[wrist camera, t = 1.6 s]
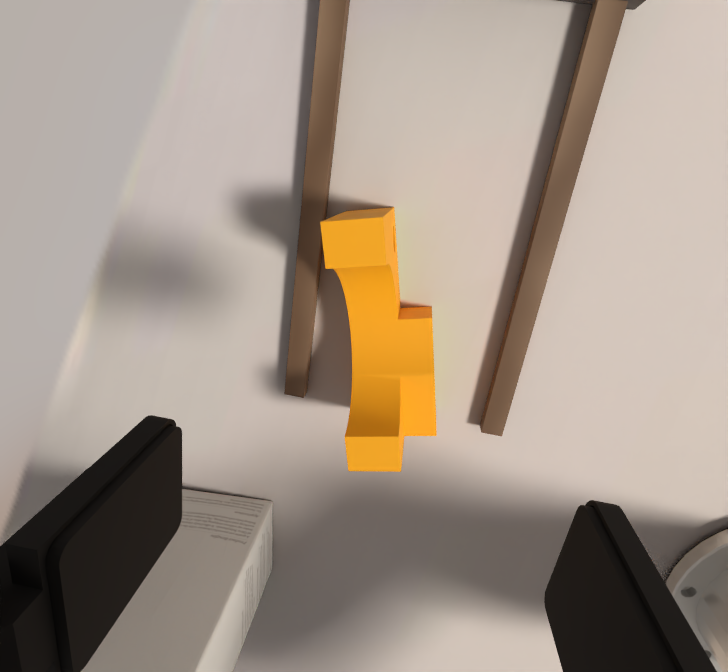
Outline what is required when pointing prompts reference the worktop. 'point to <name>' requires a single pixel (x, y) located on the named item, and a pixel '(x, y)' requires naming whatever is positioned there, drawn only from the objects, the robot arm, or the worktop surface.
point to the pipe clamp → (380, 341)
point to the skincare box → (196, 591)
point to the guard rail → (547, 224)
